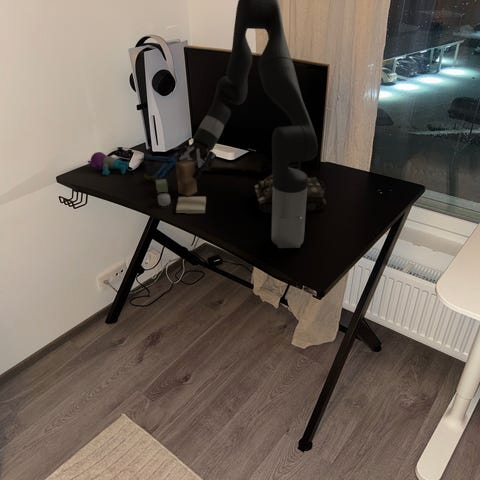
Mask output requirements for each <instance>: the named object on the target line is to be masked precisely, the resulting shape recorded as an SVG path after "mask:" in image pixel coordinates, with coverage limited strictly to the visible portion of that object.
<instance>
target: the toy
mask: <svg viewBox="0 0 480 480" xmlns="http://www.w3.org/2000/svg"><path fill="white" fill-rule="evenodd" d="M87 163H88V164H89V165H91V167H93V169H95V170H98V171H101V170H102V174H101V175H103V176H108V175H109V174H110V173H111V171H110V170H115V169H119V170H120V173H121V174H122V175H124V174H125V173H126V170H127V171H128V166H129V163H130V162H129V161H122V160H121V159H119V158H118V159H117V158H115V157H113V156H111V155H106V154H105V153H104V152H101V151H97V152H94V153H93V154H92V155H91V157H90V160H88V161H87ZM109 169H110V170H109Z"/></svg>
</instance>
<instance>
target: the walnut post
mask: <svg viewBox="0 0 480 480" xmlns="http://www.w3.org/2000/svg"><path fill="white" fill-rule="evenodd" d="M195 162H196V161H192V160H187V159H185V160H182V161H180V162H177V163H176V166H175V169H176V170H175V171H176V180H177V181H176V182H177V189H178V193H179V194H180V193H181V194H180V195H182V194H183V195H182V196H184V195H185V196H184V197H186V196H188V197H191V196H192V195H194V193H195V194H197V193H198V187H197V186H198V185H197V180H195V179H194V178H192V176H193V174H194V172H195V170H196V166H195ZM196 192H197V193H196Z"/></svg>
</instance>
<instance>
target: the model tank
mask: <svg viewBox="0 0 480 480" xmlns="http://www.w3.org/2000/svg"><path fill="white" fill-rule="evenodd" d="M288 167H290V168H292V165H288ZM293 167H297V168H296V169H297V170H300V171H301V162H298V164H295V163H293ZM326 186H327V184H326V183H325V182H324V180H322V179H320V181H319V180H318V178H317V177H316V176H313V177H308V186H307V200H306V212H313V211H317V210H322V209H323V208H324V206H325V205H327V200H326V199H325V198H324V197H325V196H324V195H325V190H326ZM254 193H255V196H256V197H257V204H258V207H259V210H260V211H261V212H264V213H266V214H272V196H273V174H272V173H271V174H270V175H269V176H267V177H266V178H264V179H263V180H260V179H259V180H258V181H257V184H255V185H254ZM324 204H325V205H324Z"/></svg>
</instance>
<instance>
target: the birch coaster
mask: <svg viewBox="0 0 480 480" xmlns="http://www.w3.org/2000/svg"><path fill="white" fill-rule="evenodd" d="M206 203H207V196H188V197H186V196H178V198H177V203H176V208H175V213H186V214H205V213H206V206H207V205H206Z"/></svg>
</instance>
